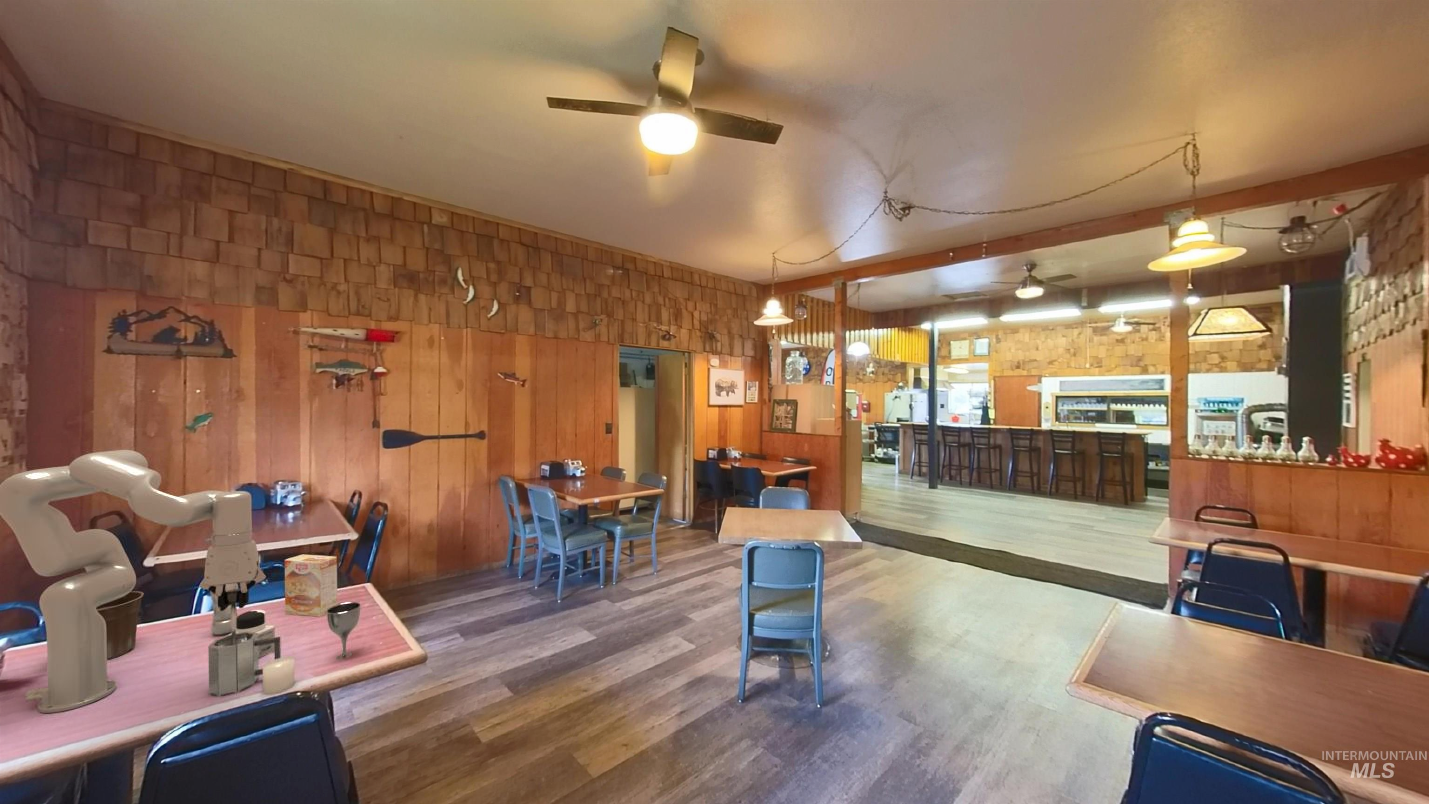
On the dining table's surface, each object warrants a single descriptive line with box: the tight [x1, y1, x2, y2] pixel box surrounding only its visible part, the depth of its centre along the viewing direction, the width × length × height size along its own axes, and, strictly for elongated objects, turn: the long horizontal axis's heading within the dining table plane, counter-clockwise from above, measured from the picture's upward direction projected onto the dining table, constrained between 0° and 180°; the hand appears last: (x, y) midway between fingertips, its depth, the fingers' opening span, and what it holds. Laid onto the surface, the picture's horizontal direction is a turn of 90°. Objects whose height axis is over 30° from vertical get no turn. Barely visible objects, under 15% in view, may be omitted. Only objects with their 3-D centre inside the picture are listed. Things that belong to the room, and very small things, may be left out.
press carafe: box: [207, 631, 282, 698], centre depth 137 cm, size 14×9×13 cm, turn 117°
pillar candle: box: [262, 656, 295, 695], centre depth 135 cm, size 6×6×7 cm
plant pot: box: [96, 590, 144, 661], centre depth 153 cm, size 16×16×16 cm
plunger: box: [226, 588, 241, 645], centre depth 135 cm, size 6×6×16 cm
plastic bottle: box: [209, 583, 239, 636], centre depth 167 cm, size 6×7×20 cm
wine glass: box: [326, 601, 361, 660], centre depth 151 cm, size 8×8×15 cm
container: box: [228, 609, 276, 659], centre depth 153 cm, size 8×8×13 cm
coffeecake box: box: [284, 554, 338, 618], centre depth 184 cm, size 15×7×20 cm, turn 81°
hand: (233, 607), depth 135 cm, fingers closed on plunger, 3 cm apart
